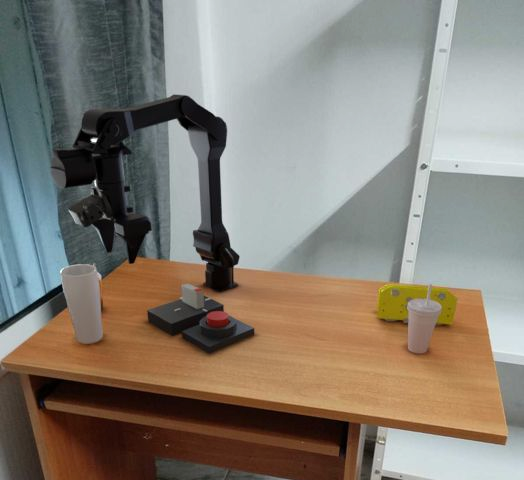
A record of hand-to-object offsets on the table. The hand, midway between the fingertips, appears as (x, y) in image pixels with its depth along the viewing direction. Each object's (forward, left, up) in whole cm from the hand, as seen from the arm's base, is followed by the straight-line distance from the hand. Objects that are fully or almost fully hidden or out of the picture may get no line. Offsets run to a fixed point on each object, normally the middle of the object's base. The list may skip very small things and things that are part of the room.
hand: (120, 257), depth 111 cm
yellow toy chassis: (-46, +43, -14) cm, 65 cm away
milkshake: (+3, -9, -14) cm, 17 cm away
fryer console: (-9, +9, -14) cm, 19 cm away
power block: (-9, +20, -14) cm, 26 cm away
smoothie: (-35, +51, -14) cm, 64 cm away
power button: (-9, +20, -11) cm, 25 cm away
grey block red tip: (-11, +9, -11) cm, 18 cm away
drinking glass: (+11, +3, -14) cm, 18 cm away
